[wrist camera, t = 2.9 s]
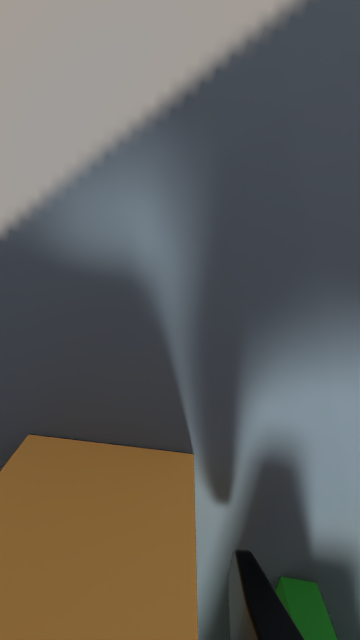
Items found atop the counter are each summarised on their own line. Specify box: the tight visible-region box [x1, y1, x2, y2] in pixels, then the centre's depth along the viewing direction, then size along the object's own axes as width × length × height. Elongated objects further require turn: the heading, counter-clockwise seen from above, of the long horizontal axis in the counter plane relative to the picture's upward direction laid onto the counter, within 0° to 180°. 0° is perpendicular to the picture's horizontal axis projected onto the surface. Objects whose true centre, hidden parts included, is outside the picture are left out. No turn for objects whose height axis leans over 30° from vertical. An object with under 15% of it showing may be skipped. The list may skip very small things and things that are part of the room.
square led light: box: [0, 435, 198, 640], centre depth 7 cm, size 4×4×6 cm
